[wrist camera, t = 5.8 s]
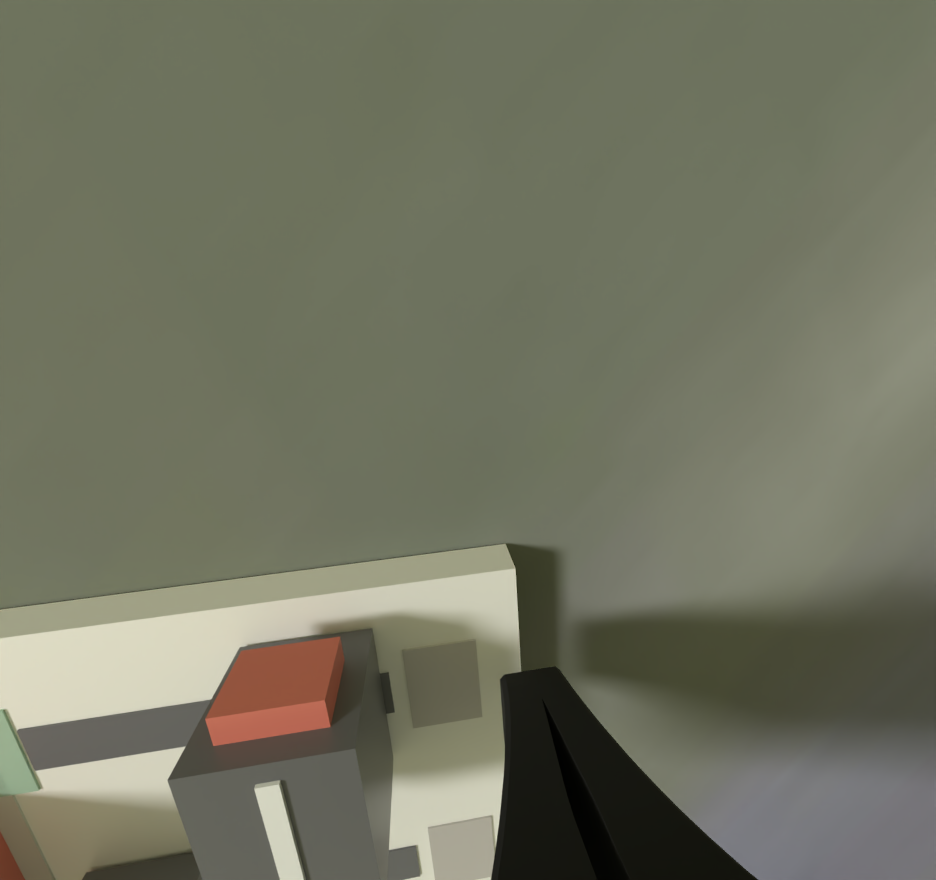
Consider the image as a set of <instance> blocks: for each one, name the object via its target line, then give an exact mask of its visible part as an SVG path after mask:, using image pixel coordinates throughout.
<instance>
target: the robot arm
mask: <svg viewBox="0 0 936 880" xmlns="http://www.w3.org/2000/svg"><path fill="white" fill-rule="evenodd" d="M500 690H501V704H502V717H503V731H504V742H505V760H504V777H503V788H502V798H501V809H500V819H499V827H498V835H497V842H496V850H495V856H494V863H493V869H492V876H491V880H758V879H756V878H755V877H754V876H753V875H752V874H750V873H749V872H748V871H747V870H746V869H744V868H743V867H742V866H741V865H740V864H739V863H738V862H736V861H735V860H734V859H733V858H732V857H731V856H730V855H729V854H727V853H726V852H725V851H724V850H723V849H722V848H721V847H720V846H719V845H717V844H716V843H715V842H714V841H713V840H712V839H711V838H710V837H709V836H707V835H706V834H705V833H704V832H703V831H702V830H701V829H700V828H699V827H698V826H697V825H696V824H695V823H694V822H693V821H692V820H690V819H689V818H688V817H687V816H686V815H685V814H684V813H683V812H682V811H681V810H680V809H679V808H678V807H677V806H676V805H675V804H674V803H673V802H672V801H671V800H670V799H669V798H668V797H667V796H666V795H665V794H664V793H663V792H662V791H661V790H660V789H659V788H658V787H657V786H656V785H655V784H654V783H653V782H652V780H651V779H650V778H649V777H648V776H647V775H646V774H645V773H644V772H643V771H642V770H641V769H640V768H639V767H638V766H637V765H636V763H635V762H634V761H633V760H632V759H631V758H630V757H629V756H628V755H627V754H626V752H625V751H624V750H623V749H622V748H621V747H620V745H619V744H618V743H617V742H616V741H615V740H614V739H613V737H612V736H611V735H610V734H609V733H608V732H607V730H606V729H605V728H604V727H603V726H602V725H601V723H600V722H599V721H598V720H597V719H596V717H595V716H594V715H593V714H592V712H591V711H590V710H589V709H588V707H587V706H586V705H585V704H584V702H583V701H582V700H581V698H580V697H579V696H578V694H577V693H576V692H575V691H574V689H573V688H572V686H571V685H570V684H569V682H568V681H567V680H566V678H565V677H564V675H563V674H562V673H561V671H560V670H559V669H558V668H557V667H548V668H542V669H536V670H530V671H523V672H517V673H511V674H504V675H503V676H502V677H501V679H500Z"/></svg>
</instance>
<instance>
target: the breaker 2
mask: <svg viewBox="0 0 936 880" xmlns="http://www.w3.org/2000/svg"><path fill="white" fill-rule="evenodd" d="M393 759H394V758H393V752H392V746H391V739H390V733H389V727H388V721H387V715H386V709H385V703H384V697H383V690H382V684H381V678H380V672H379V666H378V660H377V654H376V647H375V641H374V635H373V629H372V628H370V629H363V630H356V631H349V632H342V633H335V634H328V635H321V636H314V637H307V638H300V639H294V640H287V641H280V642H273V643H266V644H259V645H252V646H245V647H240V648H239V649H238V651H237V653H236V655H235V657H234V659H233V660H232V662H231V664H230V666H229V668H228V670H227V671H226V673H225V675H224V677H223V679H222V681H221V682H220V684H219V686H218V688H217V690H216V692H215V694H214V695H213V697H212V699H211V701H210V703H209V705H208V706H207V708H206V710H205V712H204V714H203V716H202V717H201V719H200V721H199V723H198V725H197V727H196V728H195V730H194V732H193V734H192V736H191V738H190V740H189V741H188V743H187V745H186V747H185V749H184V751H183V752H182V754H181V756H180V758H179V760H178V762H177V763H176V765H175V767H174V769H173V771H172V773H171V774H170V776H169V778H168V780H167V781H168V784H169V787H170V789H171V792H172V795H173V798H174V801H175V803H176V806H177V809H178V812H179V815H180V818H181V820H182V823H183V826H184V829H185V832H186V835H187V837H188V840H189V843H190V846H191V849H192V852H193V854H194V857H195V860H196V863H197V866H198V868H199V871H200V874H201V877H202V880H387V876H388V857H389V837H390V818H391V798H392V779H393Z"/></svg>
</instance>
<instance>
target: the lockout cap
mask: <svg viewBox="0 0 936 880" xmlns="http://www.w3.org/2000/svg"><path fill="white" fill-rule="evenodd" d="M0 880H25V878H24V876H23V875H22V873H21V871H20V869H19V867H18V865H17V863H16V861H15V859H14V857H13V855H12V853H11V851H10V849H9V847H8V845H7V843H6V841H5V840H4V838H3V836H2V834H1V832H0Z"/></svg>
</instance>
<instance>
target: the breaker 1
mask: <svg viewBox="0 0 936 880" xmlns="http://www.w3.org/2000/svg"><path fill="white" fill-rule="evenodd" d="M82 880H202V877H201V874H200V871H199V868H198V866H197V863H196V860H195V857H194V854H193V853H189V854H183V855H178V856H172V857H167V858H162V859H156V860H151V861H145V862H140V863H134V864H129V865H123V866H118V867H113V868H107V869H102V870H96V871H91V872H86V874H85V875H84V877H83V879H82Z"/></svg>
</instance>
